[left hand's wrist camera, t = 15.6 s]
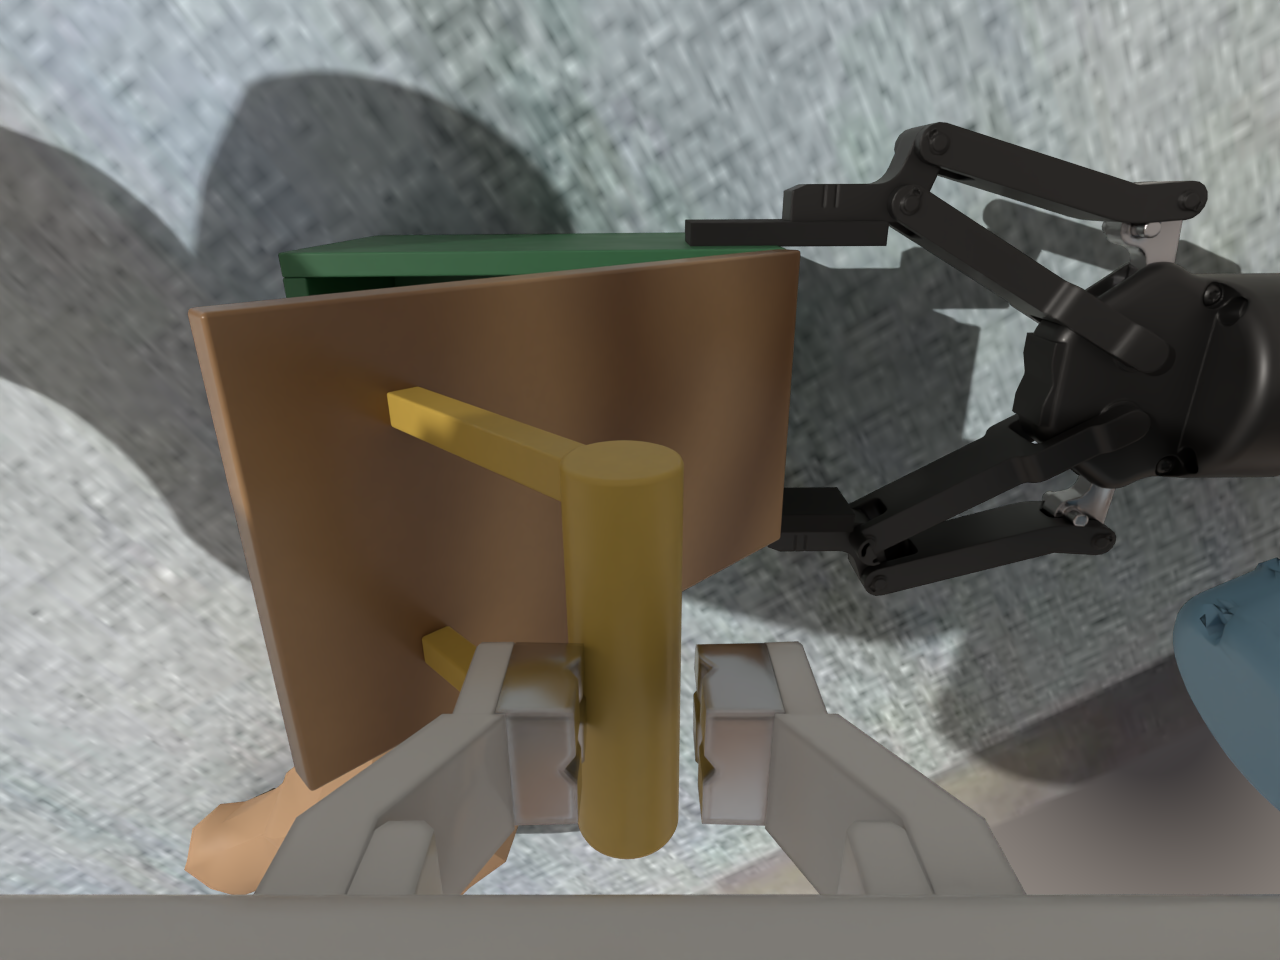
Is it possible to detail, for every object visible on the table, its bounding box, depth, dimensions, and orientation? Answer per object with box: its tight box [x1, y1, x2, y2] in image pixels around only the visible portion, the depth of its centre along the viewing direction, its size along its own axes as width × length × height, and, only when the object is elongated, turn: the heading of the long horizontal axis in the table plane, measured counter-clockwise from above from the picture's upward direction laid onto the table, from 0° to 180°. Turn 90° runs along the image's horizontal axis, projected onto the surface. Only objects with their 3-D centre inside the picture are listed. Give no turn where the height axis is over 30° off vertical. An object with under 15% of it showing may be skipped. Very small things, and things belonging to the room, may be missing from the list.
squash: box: [184, 747, 518, 895], centre depth 39 cm, size 11×20×9 cm, turn 120°
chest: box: [279, 233, 786, 298], centre depth 29 cm, size 16×10×10 cm, turn 90°
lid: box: [188, 249, 800, 859], centre depth 16 cm, size 17×10×8 cm
